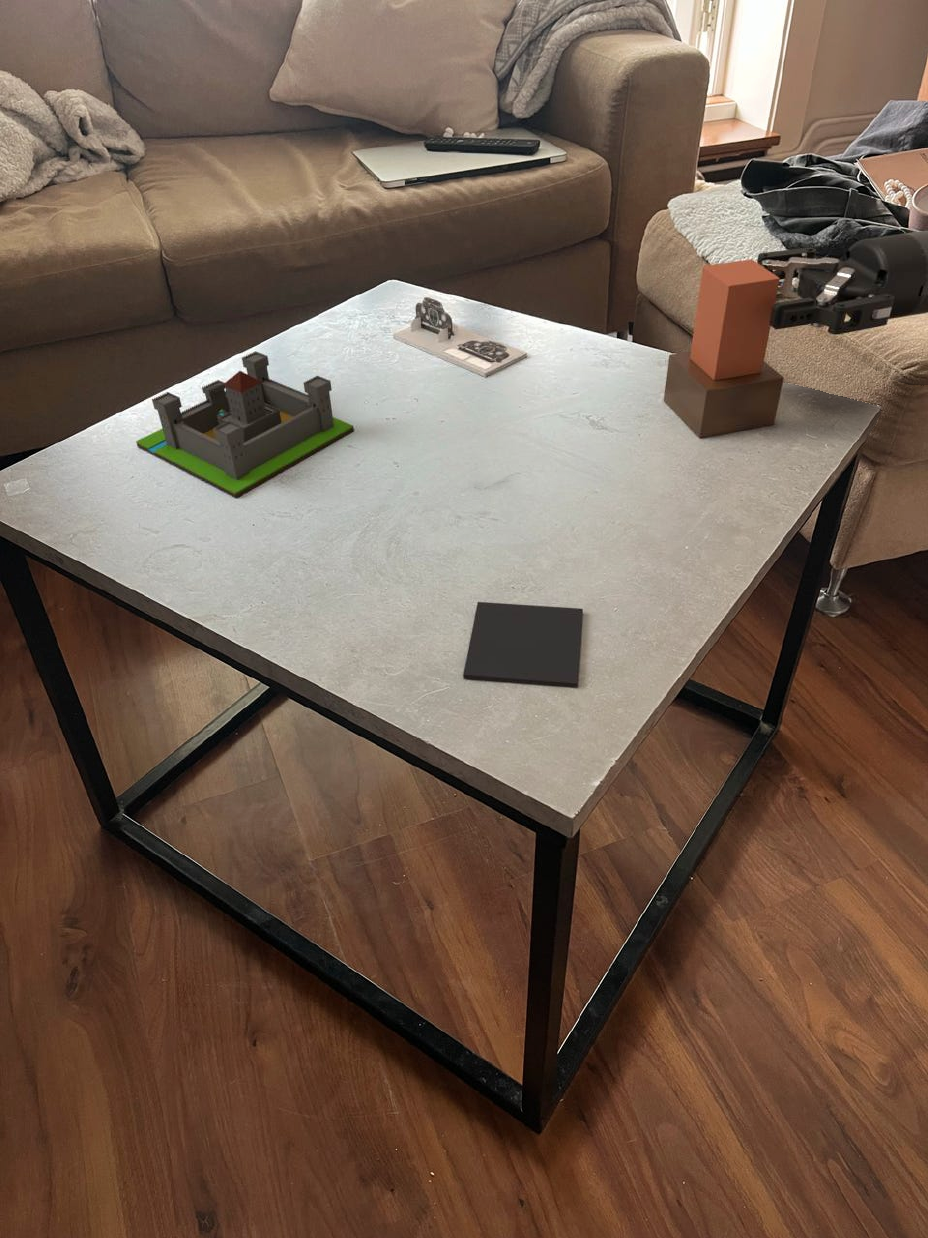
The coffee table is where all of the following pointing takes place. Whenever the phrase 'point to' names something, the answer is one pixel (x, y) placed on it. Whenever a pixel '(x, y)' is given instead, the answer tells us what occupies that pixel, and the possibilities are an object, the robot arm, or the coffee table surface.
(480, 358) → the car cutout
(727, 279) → the top block
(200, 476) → the castle model
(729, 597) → the coffee table surface
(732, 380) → the base block
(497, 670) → the felt mat
